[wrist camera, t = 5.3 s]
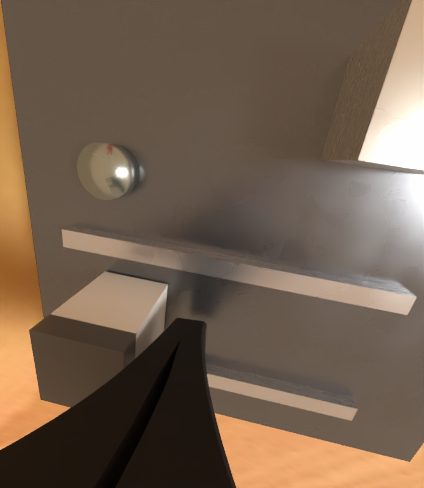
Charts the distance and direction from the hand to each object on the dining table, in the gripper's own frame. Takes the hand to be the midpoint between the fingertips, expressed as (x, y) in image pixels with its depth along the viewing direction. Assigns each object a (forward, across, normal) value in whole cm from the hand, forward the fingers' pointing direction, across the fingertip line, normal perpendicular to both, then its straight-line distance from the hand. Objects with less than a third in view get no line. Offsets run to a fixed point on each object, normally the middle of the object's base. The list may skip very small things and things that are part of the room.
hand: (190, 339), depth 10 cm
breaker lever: (+1, +3, 0) cm, 3 cm away
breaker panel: (+3, -2, -4) cm, 6 cm away
